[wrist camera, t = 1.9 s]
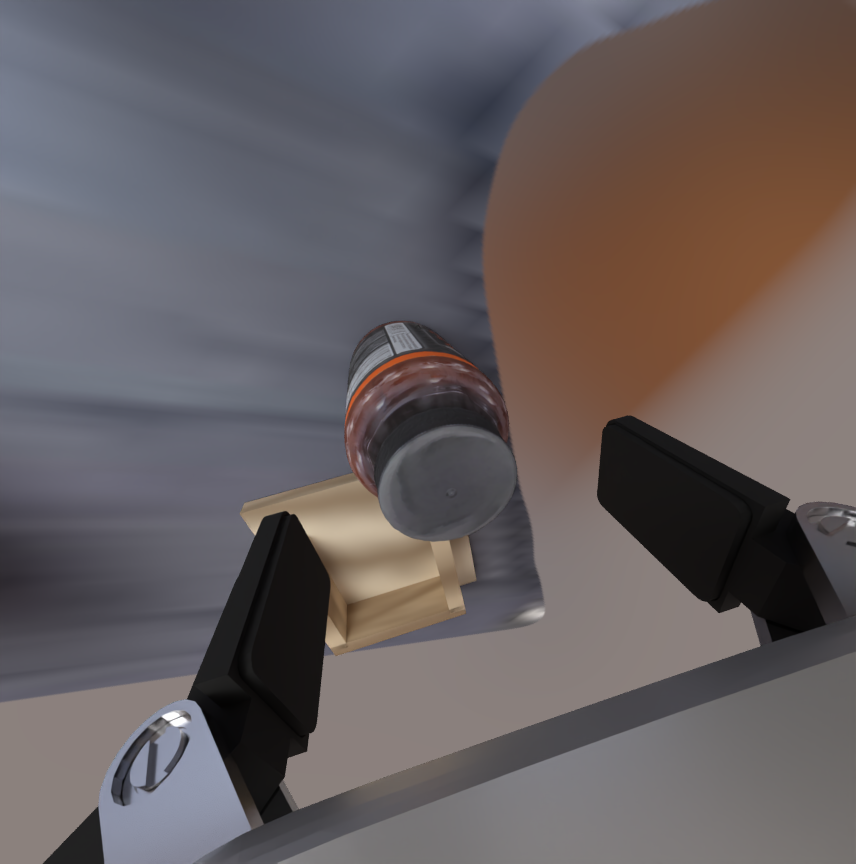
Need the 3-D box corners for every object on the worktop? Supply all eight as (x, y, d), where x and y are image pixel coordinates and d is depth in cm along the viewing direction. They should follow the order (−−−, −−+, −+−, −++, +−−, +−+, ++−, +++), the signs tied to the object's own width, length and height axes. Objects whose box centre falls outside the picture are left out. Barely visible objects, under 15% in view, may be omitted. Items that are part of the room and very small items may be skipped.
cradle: (244, 503, 20) (222, 552, 17) (449, 445, 21) (467, 481, 18) (321, 618, 27) (317, 669, 24) (472, 570, 28) (488, 613, 25)
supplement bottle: (467, 378, 19) (581, 495, 10) (392, 434, 20) (427, 594, 10) (411, 293, 16) (492, 339, 7) (325, 362, 17) (286, 494, 7)
